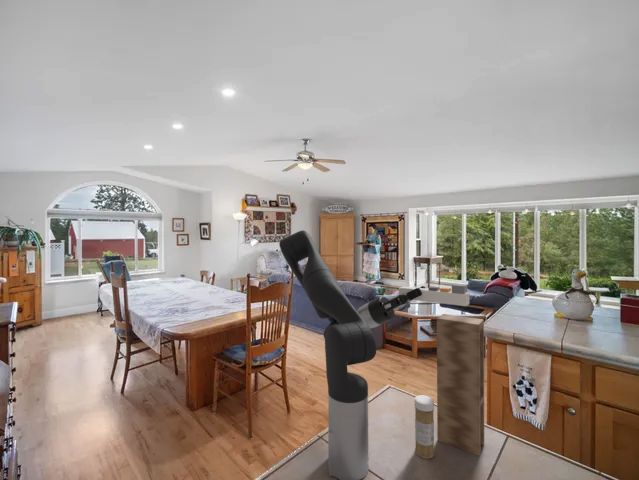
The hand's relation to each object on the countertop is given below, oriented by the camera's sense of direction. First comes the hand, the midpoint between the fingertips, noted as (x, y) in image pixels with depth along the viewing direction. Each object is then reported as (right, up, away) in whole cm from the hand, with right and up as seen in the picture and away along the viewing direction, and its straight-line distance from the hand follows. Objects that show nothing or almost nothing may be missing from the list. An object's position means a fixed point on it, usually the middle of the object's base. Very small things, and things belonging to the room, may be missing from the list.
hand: (422, 290), depth 87 cm
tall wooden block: (+8, -39, -6) cm, 40 cm away
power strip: (+2, -3, -2) cm, 4 cm away
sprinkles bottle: (-3, -39, -10) cm, 40 cm away
